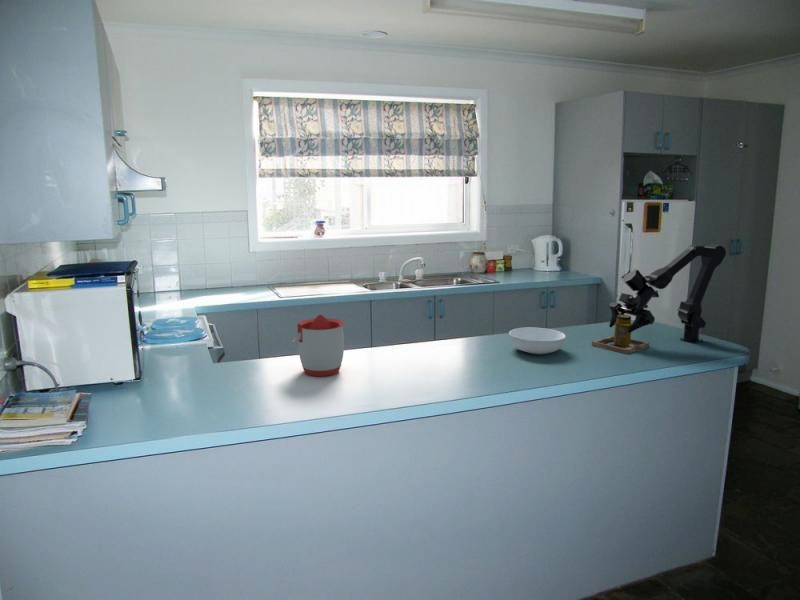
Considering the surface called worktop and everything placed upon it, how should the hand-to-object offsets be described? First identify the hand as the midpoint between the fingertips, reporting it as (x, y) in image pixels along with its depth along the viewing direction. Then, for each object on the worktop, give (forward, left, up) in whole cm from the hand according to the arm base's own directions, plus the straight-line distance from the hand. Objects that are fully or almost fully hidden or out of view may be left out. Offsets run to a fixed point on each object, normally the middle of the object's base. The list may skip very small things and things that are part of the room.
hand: (619, 329), depth 237 cm
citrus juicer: (+108, -45, -7) cm, 117 cm away
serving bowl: (+30, -16, -7) cm, 34 cm away
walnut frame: (-1, 0, -7) cm, 7 cm away
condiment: (-1, 0, -7) cm, 7 cm away
